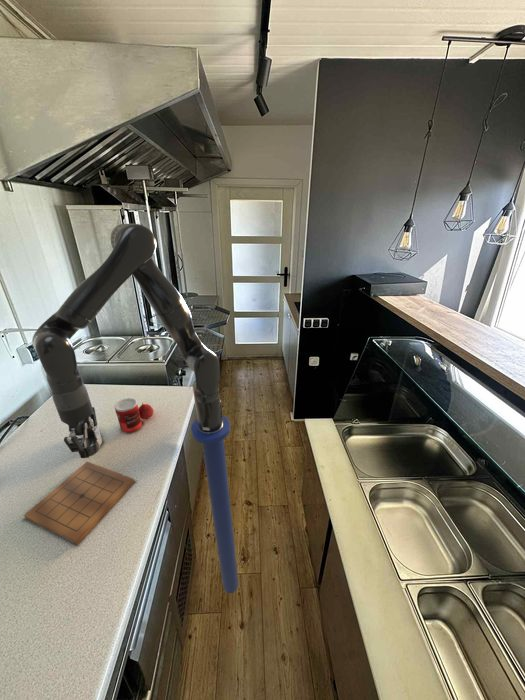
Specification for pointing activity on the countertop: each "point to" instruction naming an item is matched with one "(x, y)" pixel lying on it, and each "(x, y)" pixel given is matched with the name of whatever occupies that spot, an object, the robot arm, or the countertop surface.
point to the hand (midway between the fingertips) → (89, 449)
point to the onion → (145, 411)
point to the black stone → (92, 445)
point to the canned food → (128, 415)
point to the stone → (97, 435)
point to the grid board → (79, 502)
